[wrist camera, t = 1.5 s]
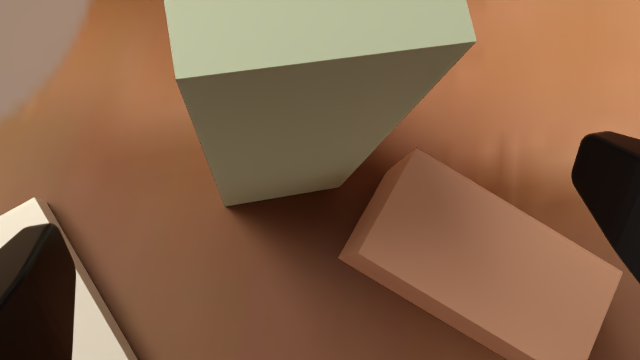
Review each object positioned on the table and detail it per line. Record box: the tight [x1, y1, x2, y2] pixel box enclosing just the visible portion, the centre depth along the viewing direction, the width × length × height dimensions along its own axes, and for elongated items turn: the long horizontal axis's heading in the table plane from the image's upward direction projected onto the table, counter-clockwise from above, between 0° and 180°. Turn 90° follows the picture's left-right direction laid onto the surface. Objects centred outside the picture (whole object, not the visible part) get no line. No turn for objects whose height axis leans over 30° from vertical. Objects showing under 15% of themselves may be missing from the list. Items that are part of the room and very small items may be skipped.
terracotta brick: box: [338, 147, 623, 360], centre depth 18 cm, size 8×4×4 cm, turn 60°
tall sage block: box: [164, 0, 477, 206], centre depth 14 cm, size 4×4×12 cm
